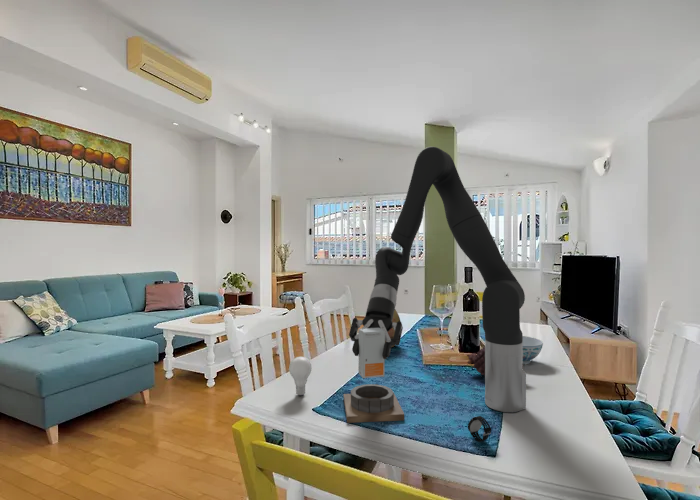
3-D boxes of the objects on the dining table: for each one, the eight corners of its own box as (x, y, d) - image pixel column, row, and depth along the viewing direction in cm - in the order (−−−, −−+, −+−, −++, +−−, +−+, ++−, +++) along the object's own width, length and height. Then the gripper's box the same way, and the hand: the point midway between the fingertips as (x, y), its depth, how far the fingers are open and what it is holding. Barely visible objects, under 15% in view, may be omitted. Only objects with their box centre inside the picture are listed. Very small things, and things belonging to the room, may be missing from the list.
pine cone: (525, 377, 123) (525, 346, 123) (520, 387, 114) (520, 354, 114) (469, 368, 132) (469, 339, 132) (461, 376, 124) (461, 345, 124)
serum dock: (393, 397, 108) (393, 381, 108) (404, 420, 94) (404, 401, 94) (343, 399, 107) (343, 383, 106) (347, 422, 93) (347, 404, 92)
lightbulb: (284, 397, 108) (284, 358, 108) (298, 389, 114) (297, 352, 114) (303, 401, 105) (303, 361, 105) (316, 393, 111) (315, 355, 111)
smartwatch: (483, 434, 86) (483, 412, 86) (492, 446, 81) (492, 423, 81) (465, 435, 86) (465, 413, 86) (473, 447, 81) (473, 423, 81)
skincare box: (363, 379, 97) (362, 332, 97) (358, 373, 101) (358, 328, 101) (385, 377, 99) (385, 330, 99) (379, 371, 103) (379, 327, 103)
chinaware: (498, 365, 135) (498, 343, 135) (497, 353, 149) (497, 334, 149) (546, 369, 130) (546, 347, 130) (539, 357, 144) (539, 336, 144)
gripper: (355, 294, 109) (340, 346, 98) (405, 297, 104) (394, 351, 93) (361, 309, 114) (347, 360, 104) (409, 313, 109) (399, 366, 99)
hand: (369, 356), depth 99 cm, fingers closed on skincare box, 7 cm apart
